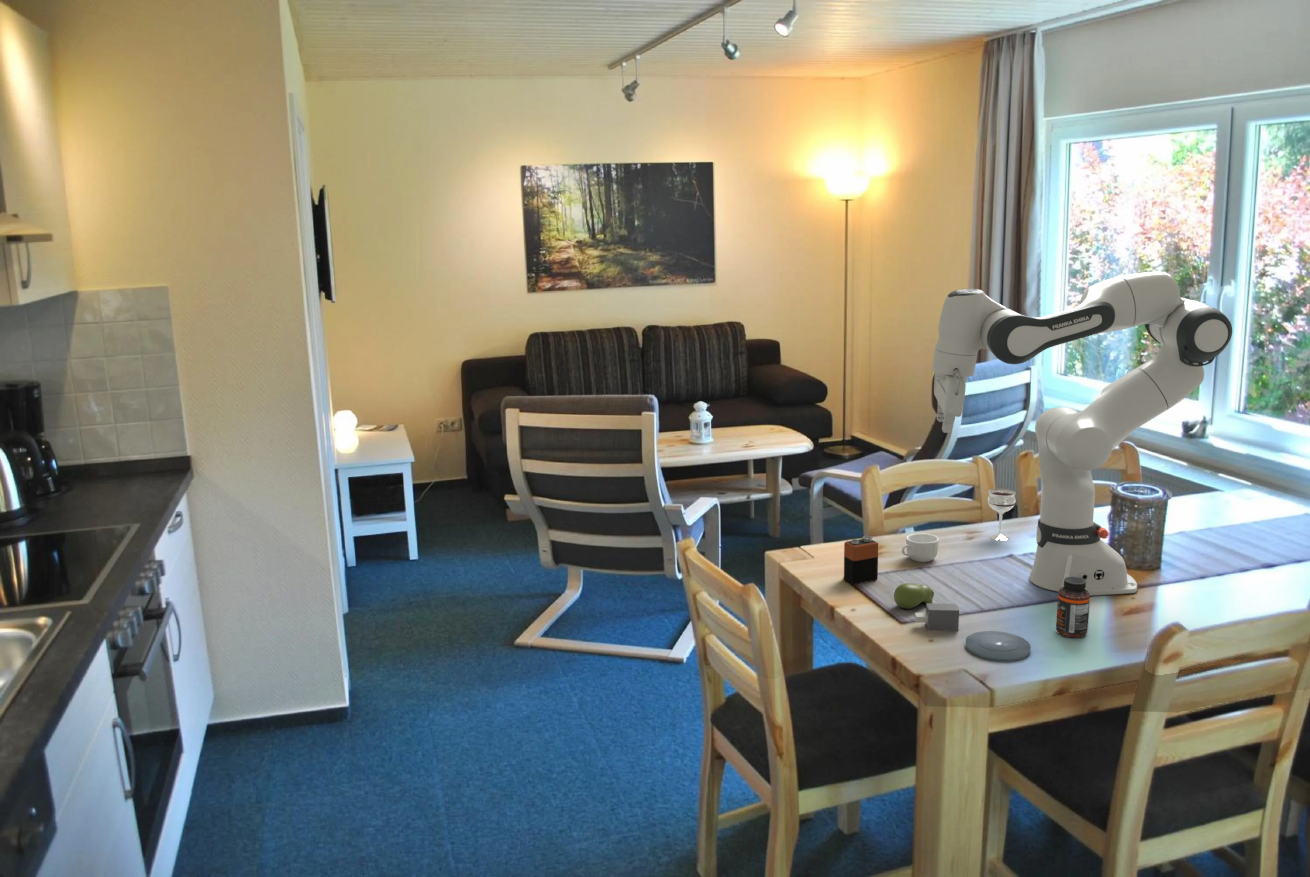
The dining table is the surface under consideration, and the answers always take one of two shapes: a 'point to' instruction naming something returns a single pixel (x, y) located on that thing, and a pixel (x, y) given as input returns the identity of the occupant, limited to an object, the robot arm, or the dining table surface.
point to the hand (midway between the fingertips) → (943, 426)
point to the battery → (861, 560)
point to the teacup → (921, 547)
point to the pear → (912, 595)
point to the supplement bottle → (1073, 608)
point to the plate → (998, 646)
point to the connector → (940, 617)
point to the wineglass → (1001, 506)
